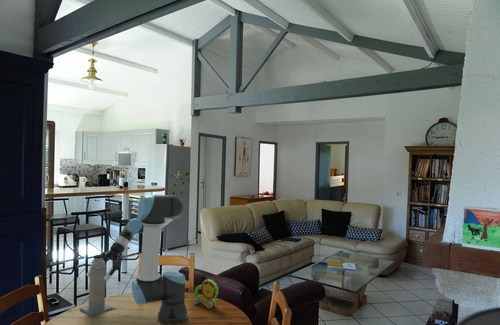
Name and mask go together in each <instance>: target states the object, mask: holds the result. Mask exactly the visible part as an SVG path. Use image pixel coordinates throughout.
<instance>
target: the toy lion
mask: <svg viewBox="0 0 500 325" xmlns="http://www.w3.org/2000/svg"><path fill="white" fill-rule="evenodd" d="M199 290H200V291H201V293H202V294H201V295H199ZM218 294H219V286H218V284H217V283H216V282H215V280H213V279H209V278H208V279H205V280H203V281H202V282H201V284H200V285H197V286H196V287H195V288H194V290H193V298H192V300H191V301H192V304H193V305H194V306H195V305H198V304H201V303H203V304H205V307H206V308H207V309H208V310H209V309H211V308H212V307H214V306H216V304H217V301H216V300H215V299H216V298H217V297H218Z"/></svg>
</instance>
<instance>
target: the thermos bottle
mask: <svg viewBox="0 0 500 325" xmlns="http://www.w3.org/2000/svg"><path fill="white" fill-rule="evenodd" d="M93 260H94V261H93ZM93 260H92V261H93V262H92V261H91V264H90V267H89V270H90V277H89V283H88V284H89V286H88V287H89V288H88V305H89V309H90V310H99V309H102V308H104V306H105V304H106V301H105V298H106V281H105V280H104V277H105V276H106V274H107V265H106V261H103V255H101V254H96V255H94V256H93Z"/></svg>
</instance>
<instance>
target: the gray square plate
mask: <svg viewBox="0 0 500 325" xmlns="http://www.w3.org/2000/svg"><path fill="white" fill-rule="evenodd" d="M113 309H114V308H113V306H111V305H109V304H107V303H105V306H104V308H102V309H99V310H90V309H89V304H88V305H85V306H82V307H80V308H79V310H80V311H81V312H83V313H84V314H86V315H89V316H90V317H93V316H96V315H99V314H102V313H106V312H109V311H112V310H113Z"/></svg>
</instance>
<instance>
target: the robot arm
mask: <svg viewBox="0 0 500 325" xmlns="http://www.w3.org/2000/svg"><path fill="white" fill-rule="evenodd" d="M185 209H186V206H185V203H184V200H182V199H181V198H180V197H178V196H177V195H174V194H170V195H169V194H168V195H166V194H149V195H143V196H142V197H141V198H140V199H139V201H138V204H137V210H136V211H137V212H136V213H137V218H132V219H131V220H130V221H128V222H127V224H125V226H124V228H123V229H122V231H121V232H120V233H119V235H118V236H117V237H116V239H115V240H114V241H113V243H112V244H111V246H110V248H109V250H107V249H104V251H103V252H102V253H101V254H100V255H103V261H105V262H106V261H112V262H111V263H112V265H111V266H112V267H111V268H110V269H109V270H108V271H107V272H106V276H105V277H104V280H105V282H108V281H109V280H110V278H111V276H113V275H114V274H115V272H116V271H120V270H121V266H122V261H123V258H124V257H125V255H124V254H123V252H124V251H125V249H126V248H127V247H128V245H129V244H130V242H131V241H132V239H133V238H134V237H135V236H136V234H142V244H141V255H140V256H141V257H140V268H139V269H140V271H139V273H138V274H136V279H134V280H132V282H131V291H132V292H131V293H132V297H133V300H134V302H135V303H136V304H137V305H146V304H150V303H156V302H161V305H160V308H159V310H158V312H157V321H158V322H159V323H161V324H167V325H174V324H180V323H182V322H185V321H186V320H187V319H188V311H187V307H186V304H185V300H186V296H185V294H186V276H185V274H183V273H181V272H179V271H165V272H163V273H162V276H161V274H160V273H159V261H160V252H161V250H160V249H161V238H162V237H161V236H162V233H163V232H164V231H165V229H166V226H167V225H169V223H171V222H173V220H177V219H179V218H180V217H182V216H183V214H184V213H185V211H186V210H185ZM93 261H94V259H93V260H92V261H91V263H92V262H93ZM86 276H87V277H88V278H90V269H89V270H88V272H87V273H86Z"/></svg>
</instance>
